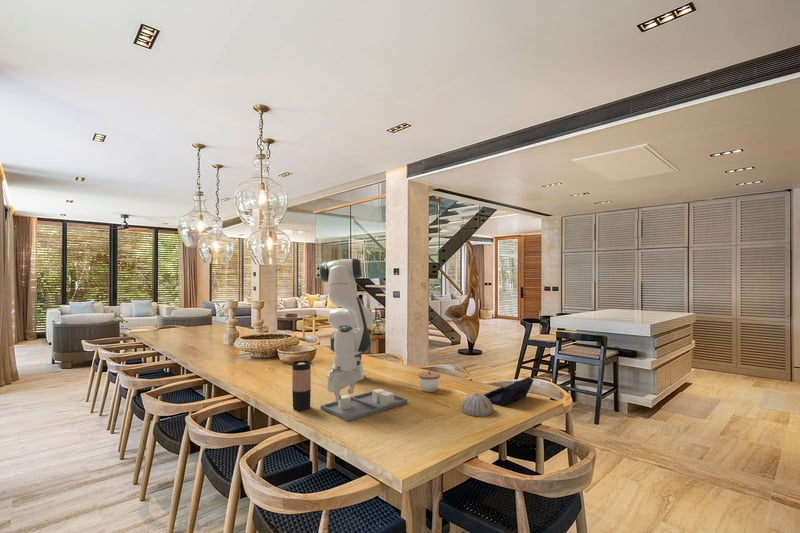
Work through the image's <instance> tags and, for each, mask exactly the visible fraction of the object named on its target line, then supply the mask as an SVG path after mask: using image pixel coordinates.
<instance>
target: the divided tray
mask: <svg viewBox="0 0 800 533" xmlns="http://www.w3.org/2000/svg"><path fill="white" fill-rule="evenodd" d="M350 397H351V408H349V409H342V410H341V409H340V408H339V407H338V401H337V400H335V401H330V402H328V403H325V404H321V405H320V410H321V411H322V412H325V413H328V414H330V415H332V416H335V417H338V418H339V419H341V420H344V421H346V422H349V423H350V422H352V421H354V420H355V421H356V420H358V419H362V418H364V417H368V416H372V415H375V414H377V413H381V412H383V411H387V410H390V409H393V408H397V407H400V406H403V405H406V404H408V399H407V398H405V397H402V396H400V395H396V394H394V403H391V404H388V405H385V406H384V405H381V404H380V403H376V402H374V401H373V400H372V390H371V391H367V392H363V393H360V394H359V393H358V394H356V395H352V396H350Z"/></svg>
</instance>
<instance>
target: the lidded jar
mask: <svg viewBox="0 0 800 533" xmlns="http://www.w3.org/2000/svg"><path fill="white" fill-rule="evenodd" d="M417 375H418V384H419V387H420V388H421V389H422V390H423V391H424V392H426V393H432V392H435V391H436V390H437V389H438V388H439V386H440V384H441V383H440V382H441V374H440V372H436V371H431V370H427V371H422V372H418V374H417Z"/></svg>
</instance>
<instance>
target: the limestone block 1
mask: <svg viewBox="0 0 800 533" xmlns="http://www.w3.org/2000/svg"><path fill="white" fill-rule="evenodd" d="M340 396H341V400H339V401H338V407H339V408H340V409H341V410H342V409H349V408H351V397H352V396H350V394H342V395H340Z"/></svg>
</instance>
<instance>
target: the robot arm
mask: <svg viewBox="0 0 800 533" xmlns="http://www.w3.org/2000/svg"><path fill="white" fill-rule="evenodd" d="M318 273H319V275H318V276H319V277H320V280H321V281H323V282H324V283H327V292H328V293H327V294H328V298H329V301H330V302H331V303H332V304H333V305H335V306H337V308H332V309H331V310H330V311H329V312H328V315H327V320H328V321H327V322H328V323H329V325H330V326H331V327H332V328H333V329H334V330H335V331H334V332H332V333H331V335H330V336H329V339H330V341H329V342H330V346H329V350H331V351H332V352H333V353H334V356H333V364H332V365H331V368H330V369H331V370H330V372H329V373H327V374H326V376H327V377H328V379H327V390H328V392H329V393H333V394H334V396H335V401H339V400H341V396H340V392H341V391H342V390H343V389H344V388H347V387H348V386H349V388H348V390H347V393H348V395H352V394H353V393H354V389H355V386H356V383H357V382H360V381H362V380H364V378H365V373H364V367H363V366H364V363H363V360H362V357H363V356H362V353H366V352H367V351H369V349H370V348H371V346H372V337H371V334H370V331H369V329H368V328H370V327H371V326H372V324H373V321H374V315H373V312H372V311H371V310H370V309H369V308H367V307H366V306H365V305H364V304H363V303H362V301H361V300H360V298H359V294H358V290H357V284H356V280H358V279H360V278H361V277H362V275H363V273H364V266H363V263H362V262H361V260H360V259H359V258H341V259H334V260H330V261H325V262H322V263H321V264H320V265H319V269H318ZM354 329H355V330H354Z"/></svg>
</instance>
